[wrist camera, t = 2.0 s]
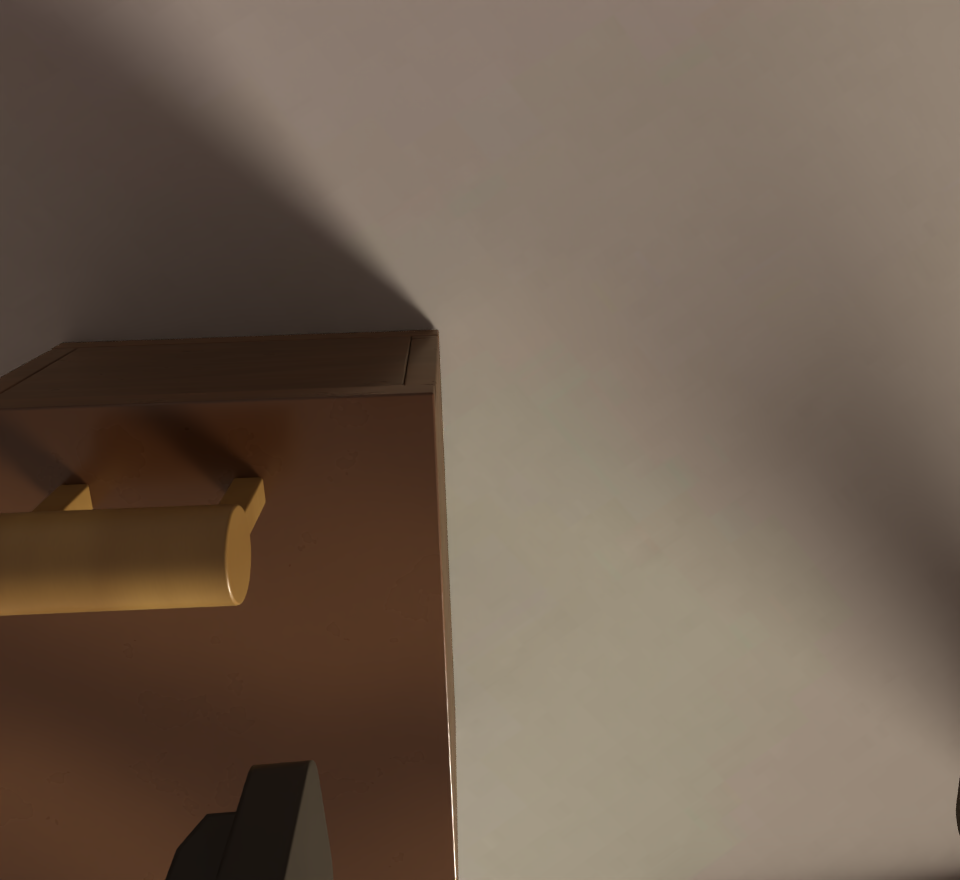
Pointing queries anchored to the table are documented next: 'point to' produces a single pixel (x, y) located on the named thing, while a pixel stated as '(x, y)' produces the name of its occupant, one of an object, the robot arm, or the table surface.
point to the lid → (221, 624)
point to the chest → (250, 388)
